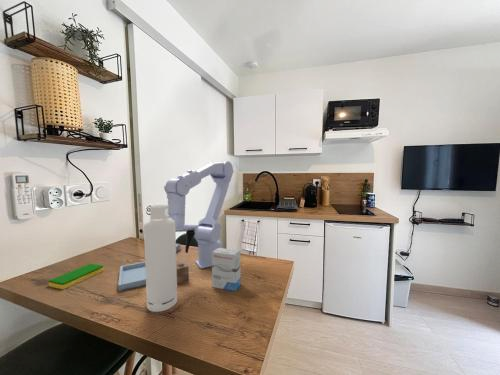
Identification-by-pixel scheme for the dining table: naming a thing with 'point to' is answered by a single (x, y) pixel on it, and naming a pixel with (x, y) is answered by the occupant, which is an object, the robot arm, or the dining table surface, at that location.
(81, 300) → the dining table surface
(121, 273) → the tray
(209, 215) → the robot arm
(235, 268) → the ink box
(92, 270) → the dish sponge
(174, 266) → the bottle
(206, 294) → the dining table surface
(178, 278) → the walnut block
